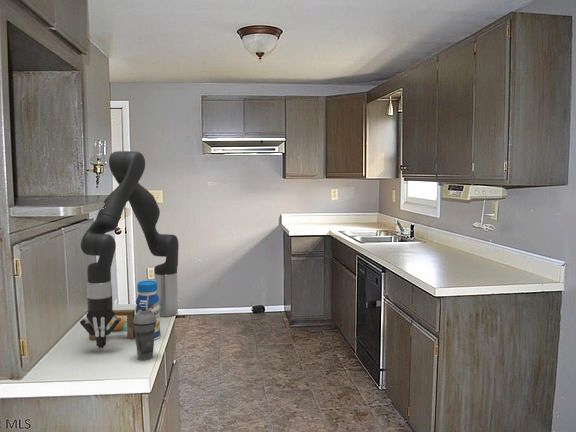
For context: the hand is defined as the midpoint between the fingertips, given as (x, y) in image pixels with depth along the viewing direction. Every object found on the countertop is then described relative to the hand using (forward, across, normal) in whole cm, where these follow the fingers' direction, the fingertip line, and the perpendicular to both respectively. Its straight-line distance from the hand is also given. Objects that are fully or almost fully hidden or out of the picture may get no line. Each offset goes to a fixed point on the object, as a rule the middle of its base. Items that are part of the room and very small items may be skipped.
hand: (101, 347), depth 157 cm
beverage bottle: (+2, -12, -13) cm, 18 cm away
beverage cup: (+2, -15, +6) cm, 17 cm away
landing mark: (+2, 0, -27) cm, 27 cm away
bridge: (+2, 0, -13) cm, 13 cm away
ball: (-2, +1, -22) cm, 22 cm away
